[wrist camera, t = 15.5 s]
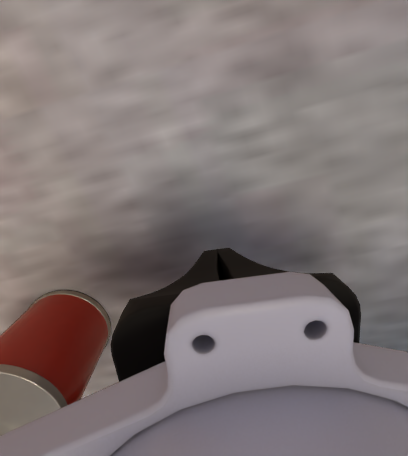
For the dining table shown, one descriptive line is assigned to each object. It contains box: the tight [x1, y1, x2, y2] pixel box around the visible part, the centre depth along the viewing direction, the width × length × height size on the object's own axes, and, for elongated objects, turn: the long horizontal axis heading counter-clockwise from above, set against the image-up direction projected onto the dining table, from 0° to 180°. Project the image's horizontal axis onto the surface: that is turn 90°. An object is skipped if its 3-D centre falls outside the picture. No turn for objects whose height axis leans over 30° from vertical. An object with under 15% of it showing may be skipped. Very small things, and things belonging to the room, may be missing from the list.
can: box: [0, 290, 111, 436], centre depth 13 cm, size 5×5×6 cm
